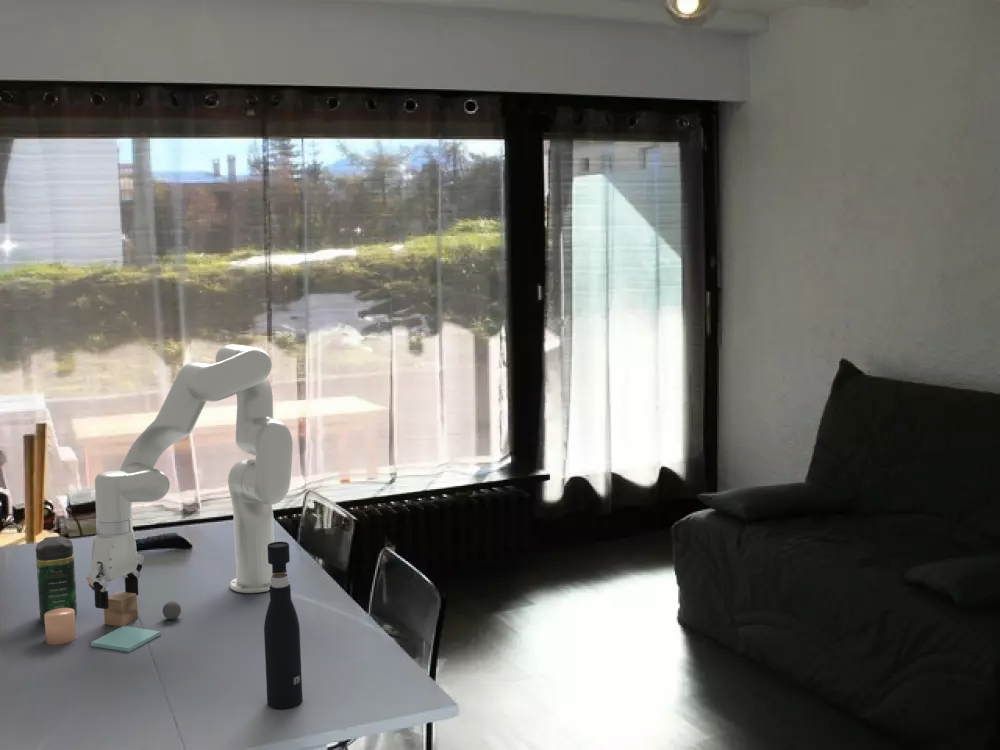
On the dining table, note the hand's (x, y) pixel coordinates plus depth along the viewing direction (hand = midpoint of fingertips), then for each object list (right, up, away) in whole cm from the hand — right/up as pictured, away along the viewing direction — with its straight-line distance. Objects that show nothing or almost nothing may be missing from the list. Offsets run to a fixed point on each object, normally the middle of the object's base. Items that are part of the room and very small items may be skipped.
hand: (117, 601), depth 237 cm
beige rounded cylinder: (-9, -6, -9) cm, 14 cm away
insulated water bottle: (+46, -10, -42) cm, 63 cm away
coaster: (+6, -6, -10) cm, 13 cm away
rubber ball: (+12, -2, +2) cm, 12 cm away
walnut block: (+1, -5, +1) cm, 5 cm away
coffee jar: (-14, -5, +4) cm, 16 cm away
